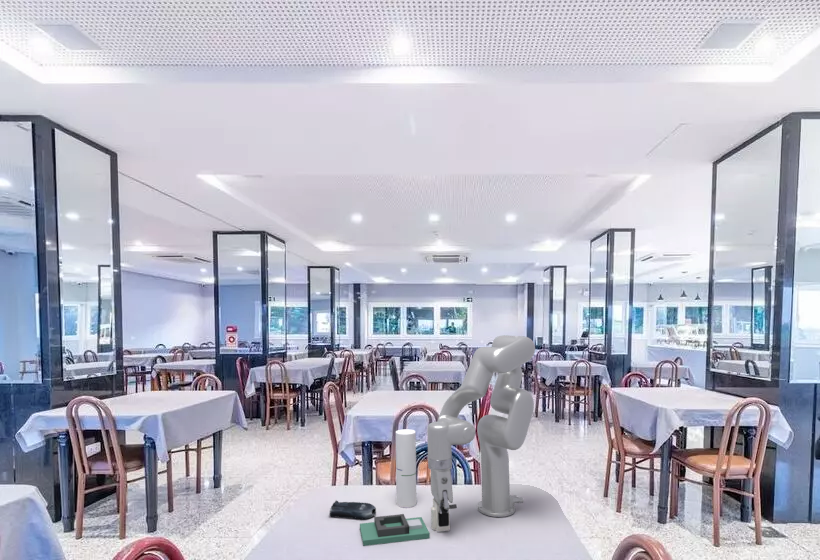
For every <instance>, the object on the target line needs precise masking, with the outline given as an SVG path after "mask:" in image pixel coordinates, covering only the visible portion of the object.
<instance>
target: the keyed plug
mask: <svg viewBox="0 0 820 560" xmlns="http://www.w3.org/2000/svg"><path fill="white" fill-rule="evenodd" d="M441 502H443V500H441ZM442 507H444V505H441V508H442ZM457 507H458V506H457V504H456V503H455V504H454V503H453V504H452V503H451V504H449V510H453V509H458V508H457ZM430 513H431V514H430V515H431V516H430V521H431V529H432V530H433V531H435V530H436V532H437V533H438V532H439V533H441V532H449V531H451V529H450V527H451V525H450V523H451V521H450V517H451V515H450V513H449V526H443V527H439V521H438V513H439V504H438V503H437V501H436V500H435V499H434V498H432V507H430Z"/></svg>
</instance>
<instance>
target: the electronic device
mask: <svg viewBox="0 0 820 560" xmlns="http://www.w3.org/2000/svg"><path fill="white" fill-rule="evenodd" d="M376 513H377V508H376V506H375V505H373V504H371V503H368V502H360V501H357V502H355V501H350V502H349V501H343V502H341V501H340V502H339V500H337V499H336V500H335V501H334V502H333V503H332V505H331V507H330V508H329V514H328V516H329V515H330V517H331V518H335V517H336V518H346V519H347V518H349V519H355V520H361V521H362V520H369V519H370V518H374V517H375V516H376Z"/></svg>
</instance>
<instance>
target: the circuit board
mask: <svg viewBox="0 0 820 560" xmlns="http://www.w3.org/2000/svg"><path fill="white" fill-rule="evenodd" d="M373 518H374V521H373V522H372V521H371V522H362V523H359V531H360V536H361V541H362V546H363V547H367V546H374V545H382V544H383V545H385V544H394V543H399V542H400V543H401V542H409V541H417V540H427V539H430V538H431V536H430V535H431V533H430V531H429V529H428V526H427V525H426V523H425V522H424V519H423V517H422V516H419V517H418V516H417V517H409V518H406V516H405V514H404V513H402V514H392V515H391V514H390V515H382V516H381V515H380V516H373Z"/></svg>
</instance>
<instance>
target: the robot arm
mask: <svg viewBox="0 0 820 560" xmlns="http://www.w3.org/2000/svg"><path fill="white" fill-rule="evenodd" d="M535 353H536V345H535V343H534V341H533V340H532V339H531V338H530V337H528V336H522V335H521V336H520V335H508V334H507V335H499V336H496V337H495V338H494V339H493V340H492V344H491V346H481V347H478V348H477V349H475V351H474V353H473V356H472V358H471V361H470V363H469V366H468V369H467V370H466V374H465V376H464V378H463V381H462V383H461V385H460V386H459V387H458V388H457V389H456V390H455V391H454V392H452V394H451V395H450V396H449V397H448V398H447V399H446V400H445V402H444V403H443V406H442V408H441V410H440V413H439V415H438V418H437V421H433V422H430V423H429V424H428V425H427V428H426V429H427V430H426V434H427V465H428V467H427V468H428V470H430V491H431V494H432V496H433V499H435V500H436V501H437V503H438V504H439V513H438V521H439V527H443V526H449V514H450V509H449V505H450V503H451V504H452V503H454V495H453V481H452V473H451V469H452V468H453V464H452V462H453V461H452V460H453V459H452V446H462V445H468V444H469V443H471V442H472V441H473V440H474V439H475V436H476V430H477V437H478V441H479V447H480V470H481V471H480V472H481V474H480V475H481V480H480V481H481V500H480V501H479V502H477V510H478V511H479V512H480V513H481V514H483V515H485V516H489V517H494V518H504V517H505V518H506V517H508V516H512V515H513V514H514V513H515V512H516V511H515V510H516V506H515V505H516V504H521V503H524V502H525V501H524V497H523V496H517V495H516V494H512V495H511V491H510V490H511V489H510V488H511V487H510V457H509V452H508V450H511V451H516V450H519V449H520V448H521V447H522V446H523V445H524V443H525V440H526V438H527V436H528V435H527V434H528V431H529V428H530V424H531V420H532V417H533V414H534V410H535V403H534V397H533V395H532V394H531V393H530V392H529V391H528V390H526V389H524V388H521V384H522V380H523V369H522V365H524V364H526V363H527V362H529V361H530V360H531V359H532V358H533V356H534V355H535ZM494 373H497V378H496V380H495V383H494V386H493V390H492V392H491V396H490V407H491V408H492V409H493V411H495V412H498V413H501V414H504V415H507V417H503V416H499V415H496V414H486V415H483V416H482V417H481V418H480V419H479V420H478V423H477V427H476V428H475V426H474V425H473V424H472V423H471V422H469V421H468V420H464V419H462V418H459V415H460V413H461V411H462V410H463V409H464V408H465V406H467V405H469V404H470V403H472V402H475V401H478V400H479V399H482V398H483V397H485V396H486V393H487V392H488V388H489V386H490V383H491V381H492V378H493V376H494ZM441 500H443V502H441ZM441 505H444V507H442V508H441Z"/></svg>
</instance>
